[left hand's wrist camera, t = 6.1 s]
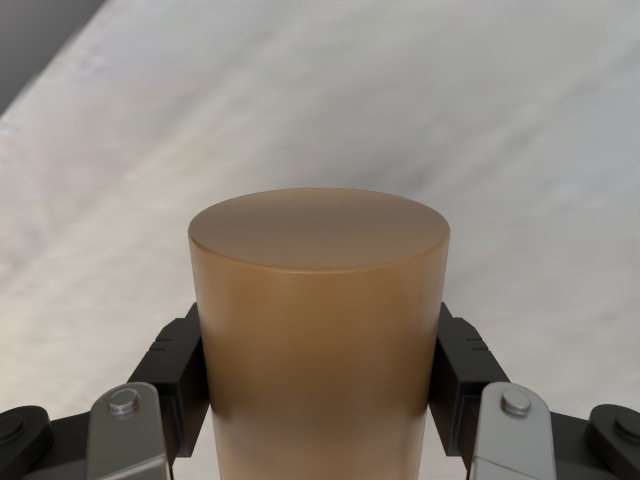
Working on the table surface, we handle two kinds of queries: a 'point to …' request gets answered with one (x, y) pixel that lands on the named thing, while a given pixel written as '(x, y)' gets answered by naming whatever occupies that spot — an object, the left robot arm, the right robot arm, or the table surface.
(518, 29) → the table surface
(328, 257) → the rod
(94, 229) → the table surface
